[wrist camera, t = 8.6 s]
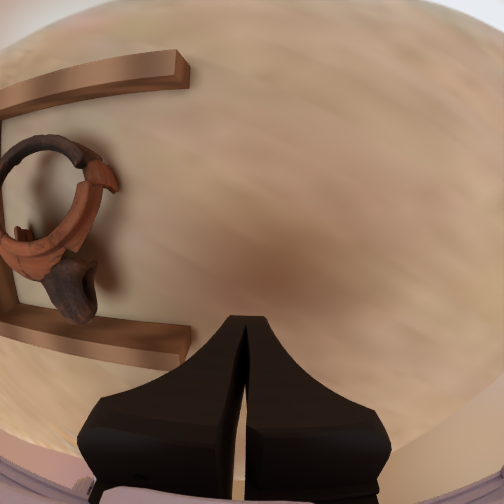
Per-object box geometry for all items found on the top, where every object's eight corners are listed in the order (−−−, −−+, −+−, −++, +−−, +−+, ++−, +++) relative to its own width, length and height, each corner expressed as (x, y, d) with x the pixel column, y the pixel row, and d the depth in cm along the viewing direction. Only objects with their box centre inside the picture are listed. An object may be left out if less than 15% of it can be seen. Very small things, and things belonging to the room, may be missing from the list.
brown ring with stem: (10, 208, 20) (-40, 172, 12) (102, 152, 23) (80, 94, 15) (66, 341, 20) (18, 358, 12) (167, 282, 23) (164, 271, 15)
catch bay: (190, 66, 16) (176, 49, 13) (190, 343, 22) (180, 372, 19) (-8, 106, 17) (-36, 105, 13) (13, 315, 22) (-9, 332, 19)
